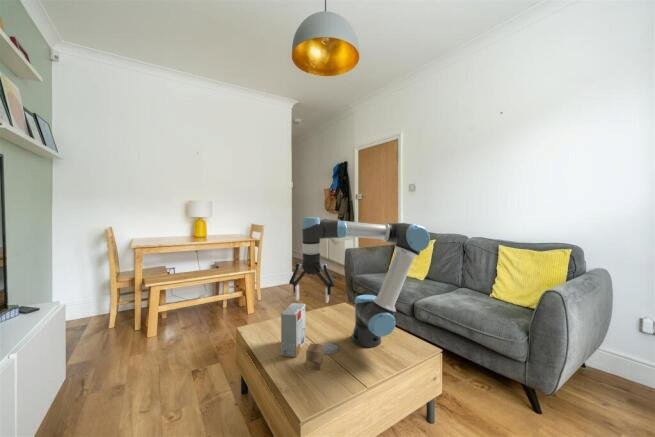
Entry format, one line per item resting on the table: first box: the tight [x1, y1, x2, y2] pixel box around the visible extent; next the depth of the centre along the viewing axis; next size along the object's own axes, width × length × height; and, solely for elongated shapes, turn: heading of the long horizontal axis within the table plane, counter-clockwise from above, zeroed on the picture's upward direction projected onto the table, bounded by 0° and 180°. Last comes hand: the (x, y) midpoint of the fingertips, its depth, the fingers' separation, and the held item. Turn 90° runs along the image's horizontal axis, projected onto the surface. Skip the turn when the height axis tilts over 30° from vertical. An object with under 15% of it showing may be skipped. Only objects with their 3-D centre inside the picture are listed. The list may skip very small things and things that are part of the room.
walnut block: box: [305, 343, 324, 371], centre depth 118 cm, size 6×6×8 cm
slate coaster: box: [322, 342, 339, 355], centre depth 131 cm, size 9×9×1 cm
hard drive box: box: [280, 302, 306, 358], centre depth 131 cm, size 16×8×20 cm, turn 168°
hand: (312, 300), depth 117 cm, fingers open, 13 cm apart
